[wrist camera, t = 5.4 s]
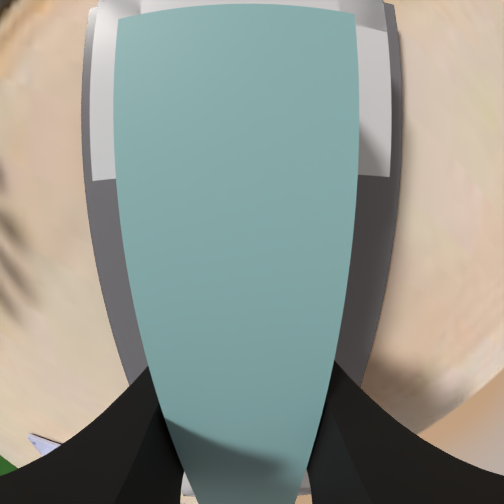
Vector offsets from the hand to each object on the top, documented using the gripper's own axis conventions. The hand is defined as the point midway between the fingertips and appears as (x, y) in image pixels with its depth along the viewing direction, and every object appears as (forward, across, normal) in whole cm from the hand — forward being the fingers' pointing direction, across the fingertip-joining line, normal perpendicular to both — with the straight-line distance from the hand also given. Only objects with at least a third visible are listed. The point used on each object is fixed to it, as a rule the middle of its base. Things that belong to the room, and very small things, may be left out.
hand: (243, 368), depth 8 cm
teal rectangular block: (+2, 0, 0) cm, 2 cm away
